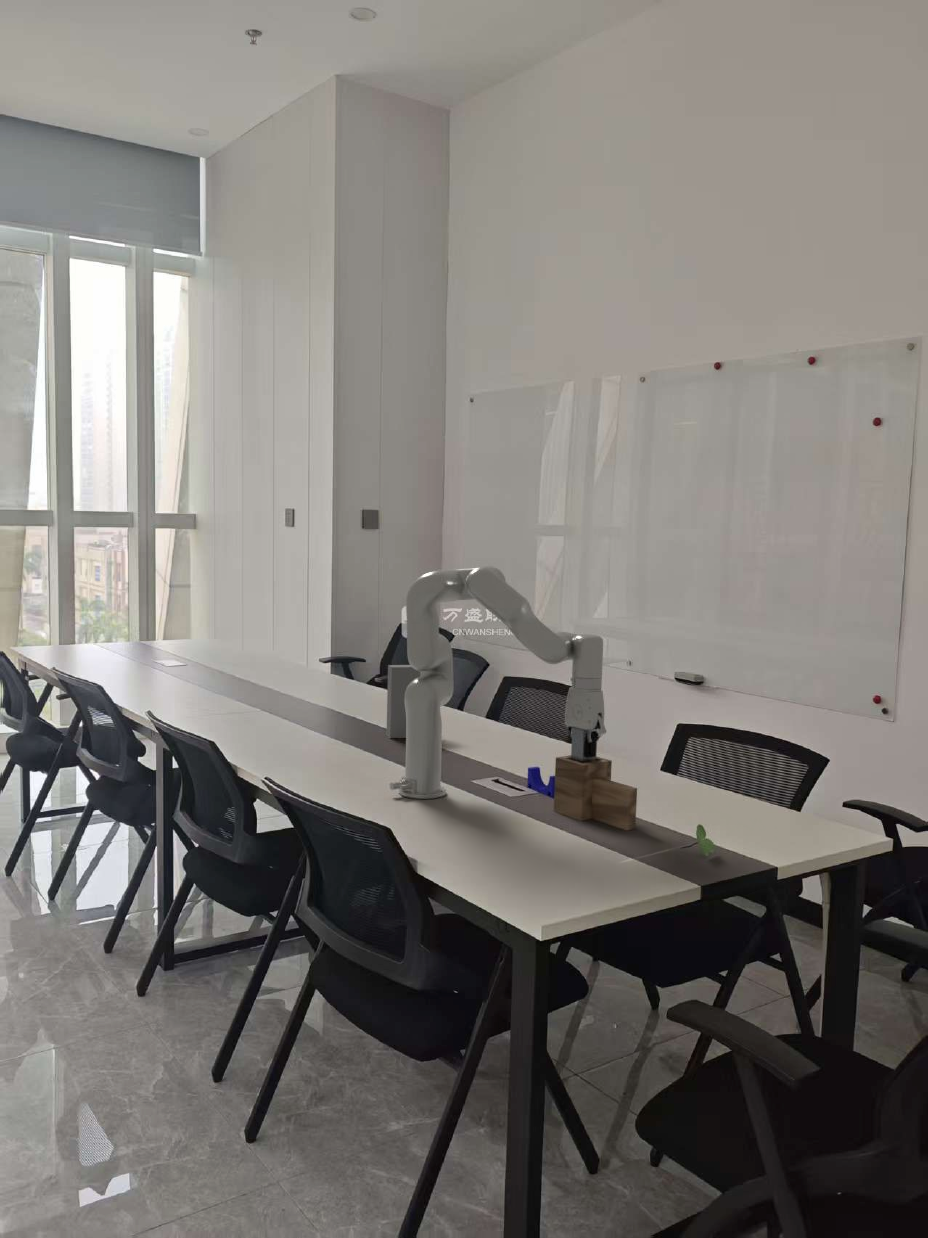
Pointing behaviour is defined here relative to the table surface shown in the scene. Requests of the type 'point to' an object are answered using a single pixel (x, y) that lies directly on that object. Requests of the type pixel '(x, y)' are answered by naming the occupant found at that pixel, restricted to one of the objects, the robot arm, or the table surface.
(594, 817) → the brown stepped hollow block
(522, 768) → the table surface
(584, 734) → the upright grey metal pillar
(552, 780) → the blue cradle block
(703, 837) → the seedling
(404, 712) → the tall grey block
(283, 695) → the table surface
